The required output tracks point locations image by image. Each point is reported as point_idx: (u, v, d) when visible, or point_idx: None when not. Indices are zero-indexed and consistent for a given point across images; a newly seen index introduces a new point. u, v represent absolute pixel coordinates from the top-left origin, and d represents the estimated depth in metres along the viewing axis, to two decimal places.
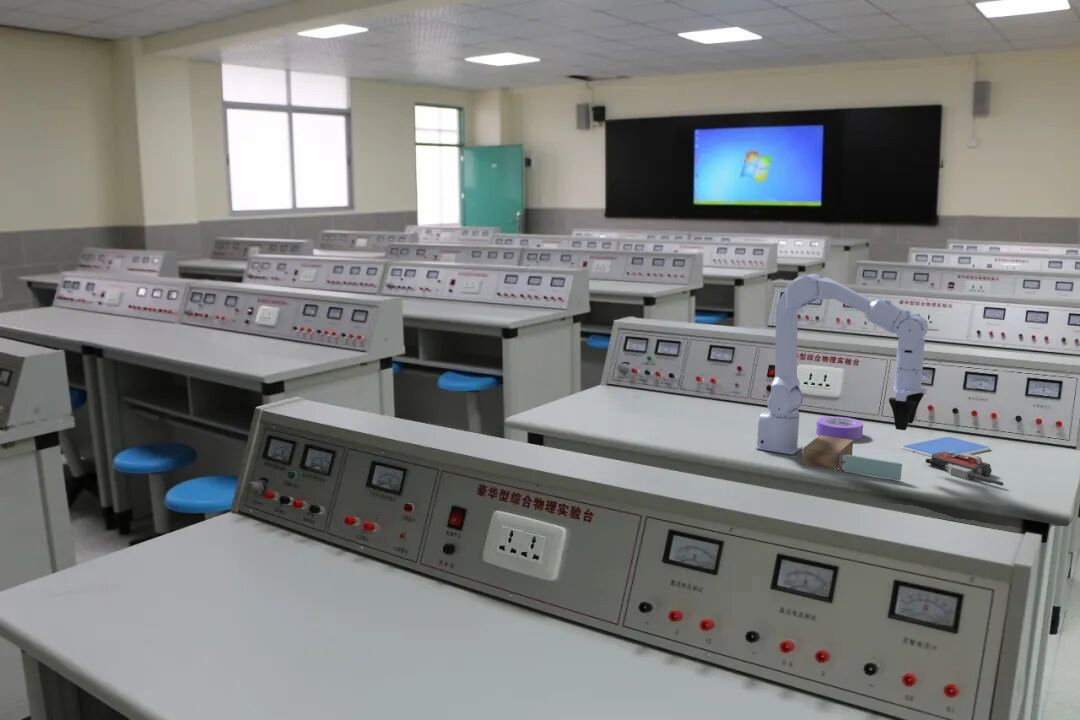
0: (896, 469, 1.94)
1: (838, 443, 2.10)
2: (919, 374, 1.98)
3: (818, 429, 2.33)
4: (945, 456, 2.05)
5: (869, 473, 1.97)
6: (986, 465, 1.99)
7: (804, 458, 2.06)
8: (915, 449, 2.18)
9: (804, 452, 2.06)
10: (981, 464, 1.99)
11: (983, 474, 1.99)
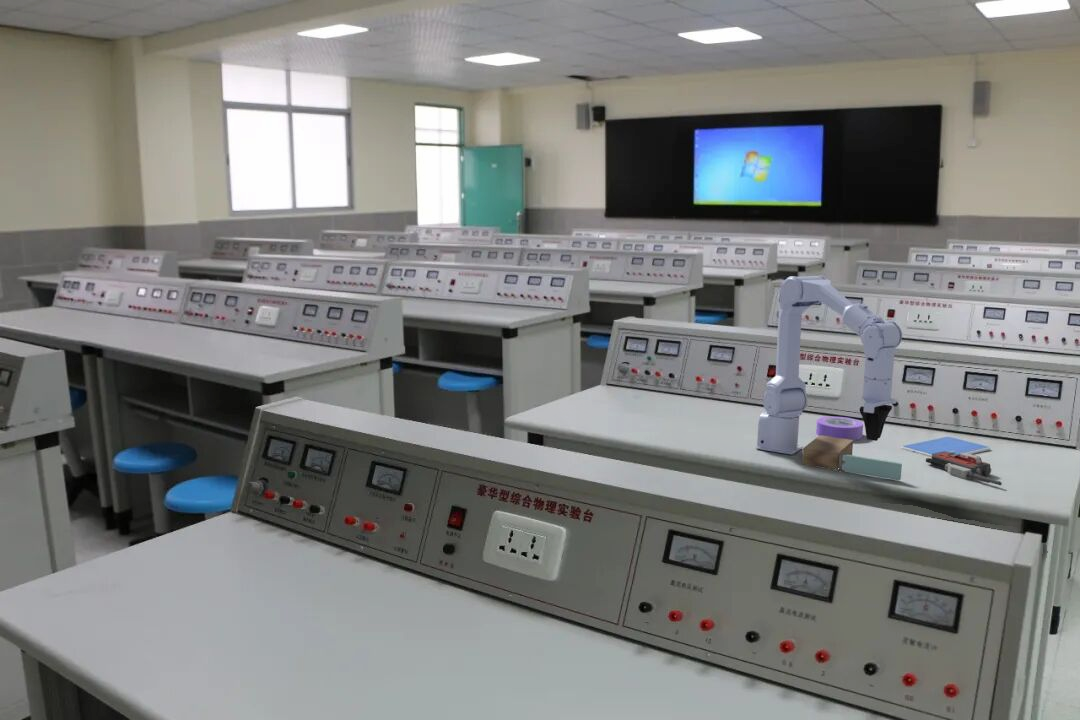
0: (896, 469, 1.94)
1: (838, 443, 2.10)
2: (888, 385, 1.87)
3: (818, 429, 2.33)
4: (945, 456, 2.05)
5: (869, 473, 1.97)
6: (986, 465, 1.99)
7: (804, 458, 2.06)
8: (915, 449, 2.18)
9: (804, 452, 2.06)
10: (980, 464, 1.99)
11: (983, 474, 1.99)
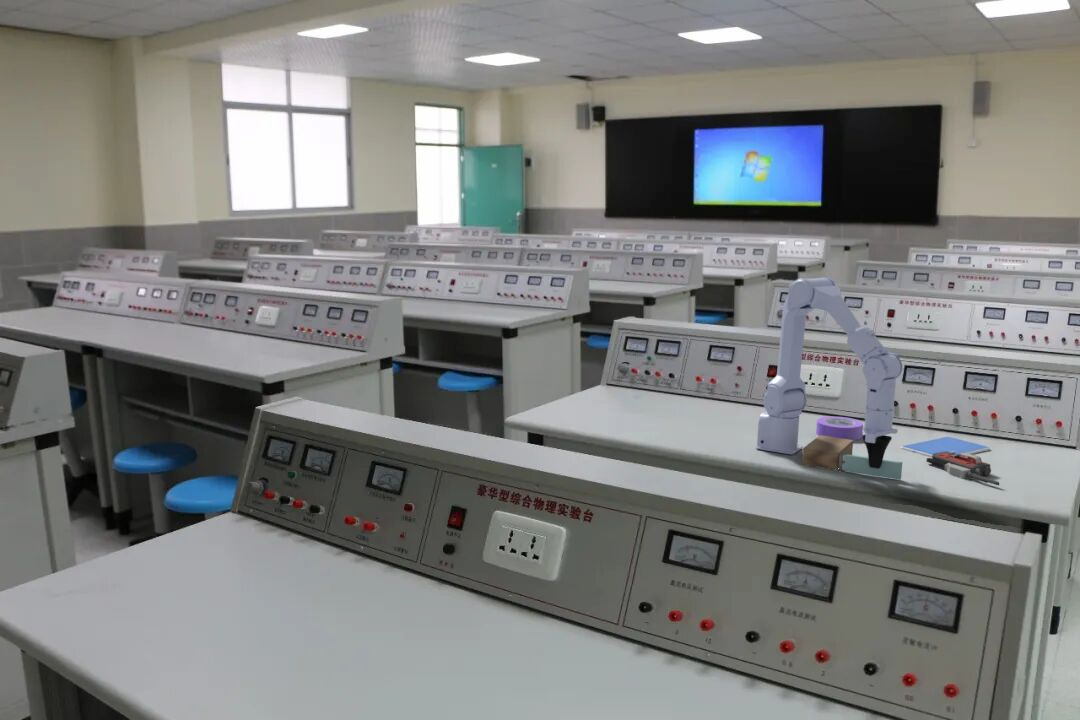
0: (897, 468, 1.95)
1: (838, 443, 2.10)
2: (889, 415, 1.92)
3: (818, 429, 2.33)
4: (945, 455, 2.05)
5: (870, 473, 1.98)
6: (985, 465, 1.99)
7: (804, 458, 2.06)
8: (915, 449, 2.18)
9: (804, 452, 2.06)
10: (980, 464, 1.99)
11: (982, 474, 1.99)
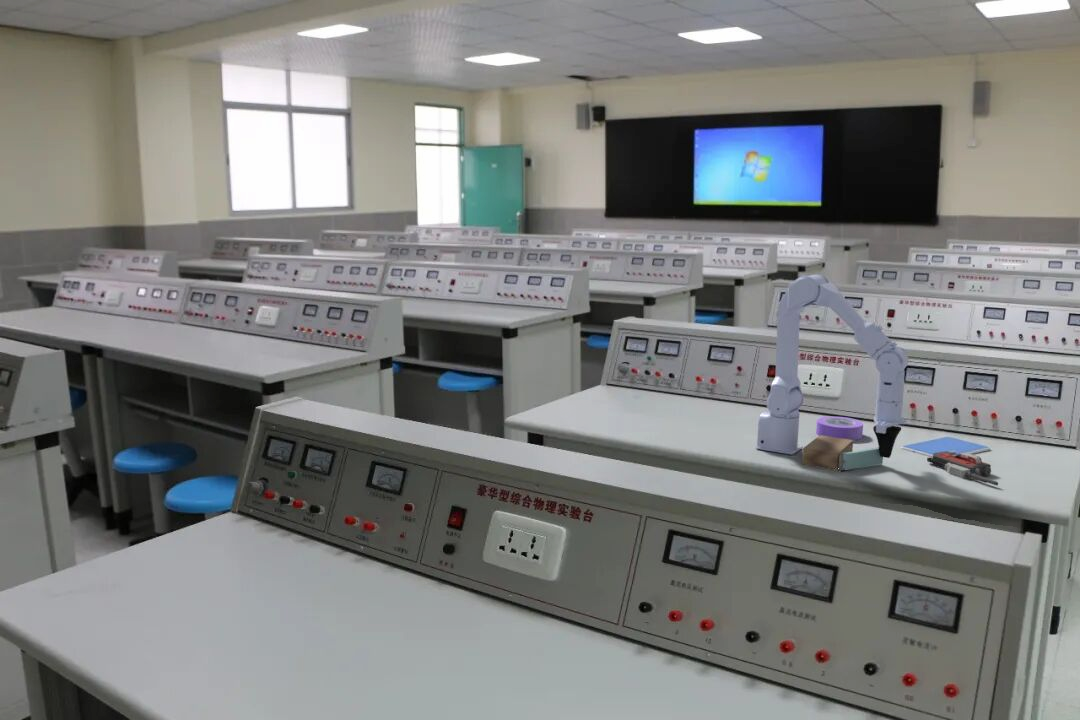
0: None
1: (838, 443, 2.10)
2: (899, 406, 2.00)
3: (818, 429, 2.33)
4: (946, 455, 2.05)
5: (862, 465, 2.04)
6: (986, 465, 1.99)
7: (804, 458, 2.06)
8: (915, 449, 2.18)
9: (804, 452, 2.06)
10: (980, 464, 1.99)
11: (982, 474, 1.99)
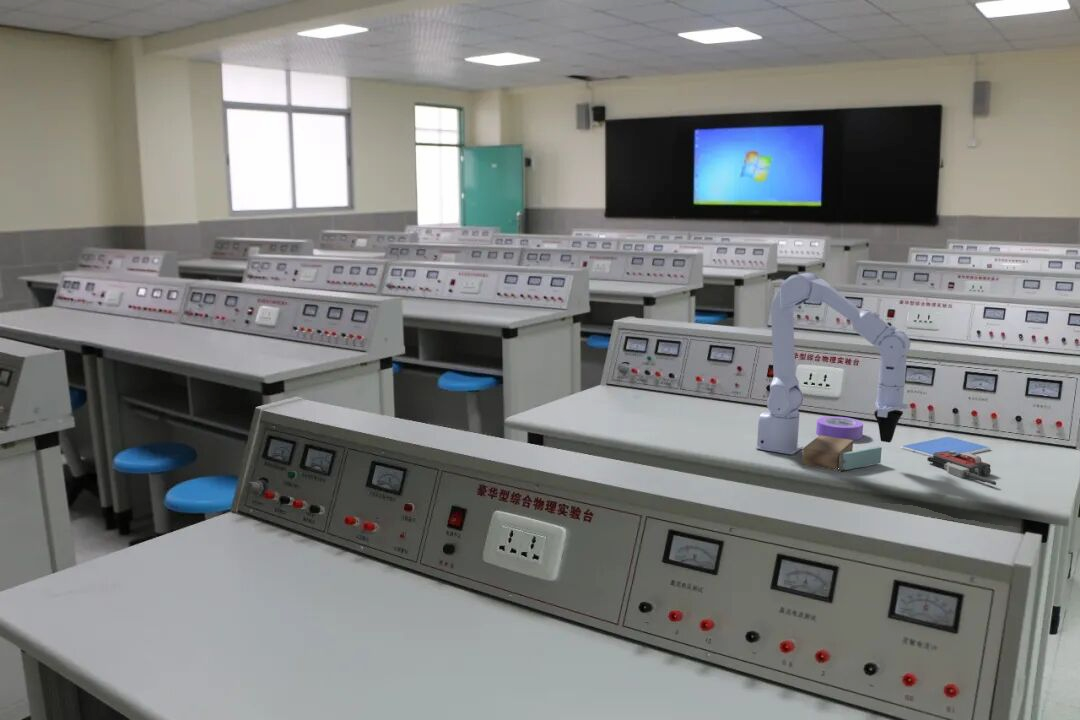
0: (878, 453, 2.07)
1: (838, 443, 2.10)
2: (900, 391, 2.00)
3: (818, 429, 2.33)
4: (946, 455, 2.06)
5: (861, 464, 2.04)
6: (985, 465, 1.99)
7: (804, 458, 2.06)
8: (915, 449, 2.18)
9: (804, 452, 2.06)
10: (980, 464, 1.99)
11: (982, 474, 1.99)
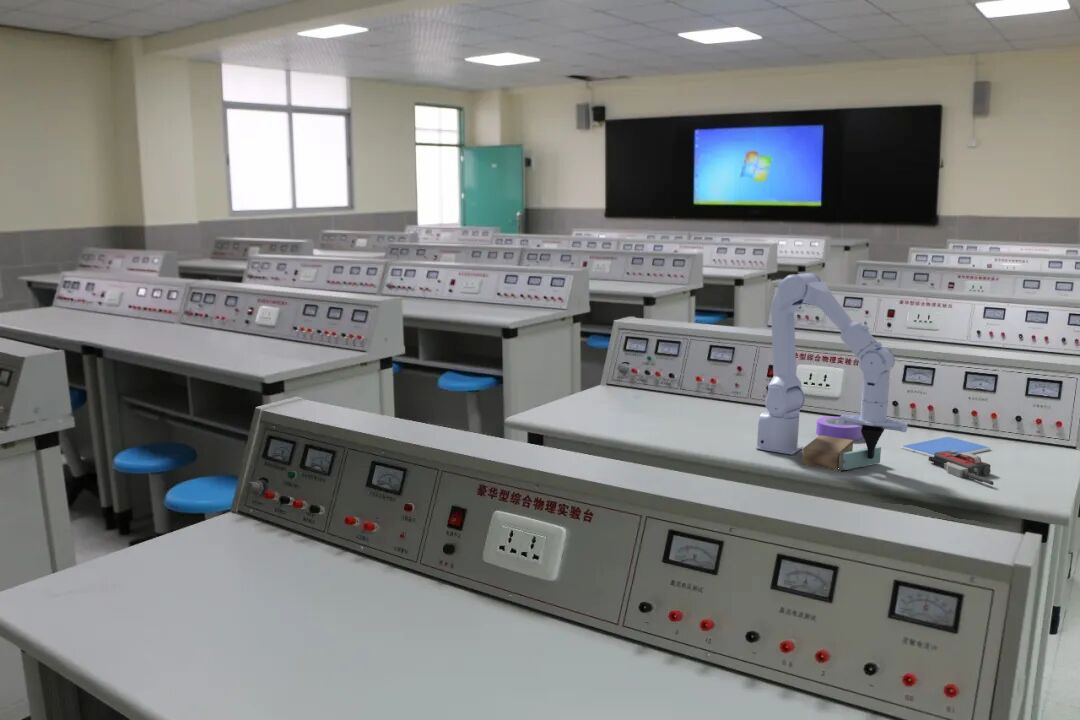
0: (878, 453, 2.07)
1: (838, 443, 2.10)
2: (865, 406, 2.00)
3: (818, 429, 2.33)
4: (947, 455, 2.06)
5: (861, 464, 2.04)
6: (985, 465, 1.99)
7: (804, 458, 2.06)
8: (915, 449, 2.18)
9: (804, 452, 2.06)
10: (979, 464, 1.99)
11: (981, 474, 1.99)
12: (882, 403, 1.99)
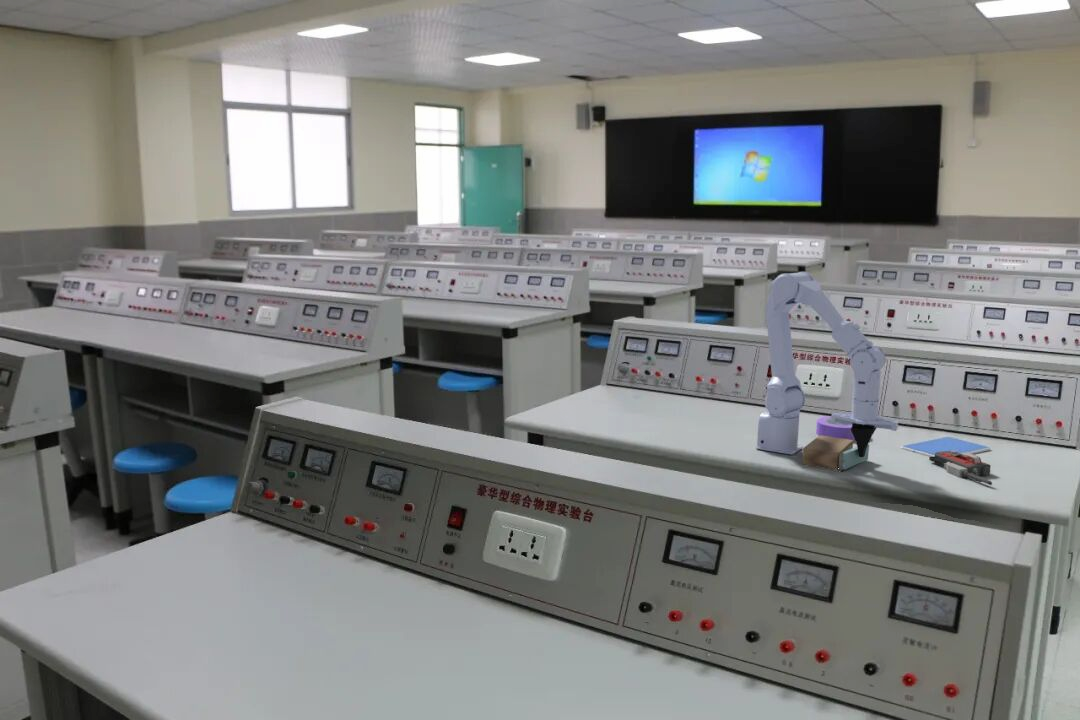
0: (867, 450, 2.09)
1: (838, 443, 2.10)
2: (856, 404, 2.01)
3: (818, 429, 2.33)
4: (947, 455, 2.06)
5: (855, 462, 2.06)
6: (985, 465, 1.99)
7: (804, 458, 2.06)
8: (915, 449, 2.18)
9: (804, 452, 2.06)
10: (979, 464, 1.99)
11: (981, 474, 1.99)
12: (873, 402, 2.00)
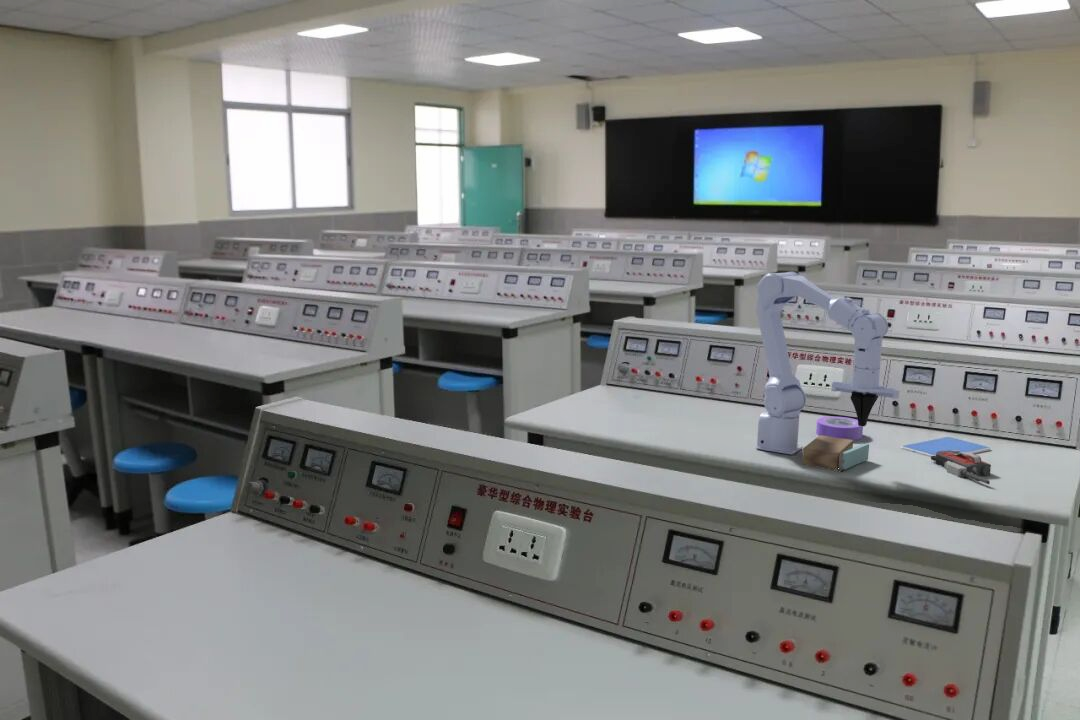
0: (867, 450, 2.09)
1: (838, 443, 2.10)
2: (857, 372, 1.98)
3: (818, 429, 2.33)
4: (948, 454, 2.06)
5: (855, 462, 2.06)
6: (985, 465, 1.99)
7: (804, 458, 2.06)
8: (915, 449, 2.18)
9: (804, 452, 2.06)
10: (979, 463, 1.99)
11: (981, 473, 1.99)
12: (874, 369, 1.97)
